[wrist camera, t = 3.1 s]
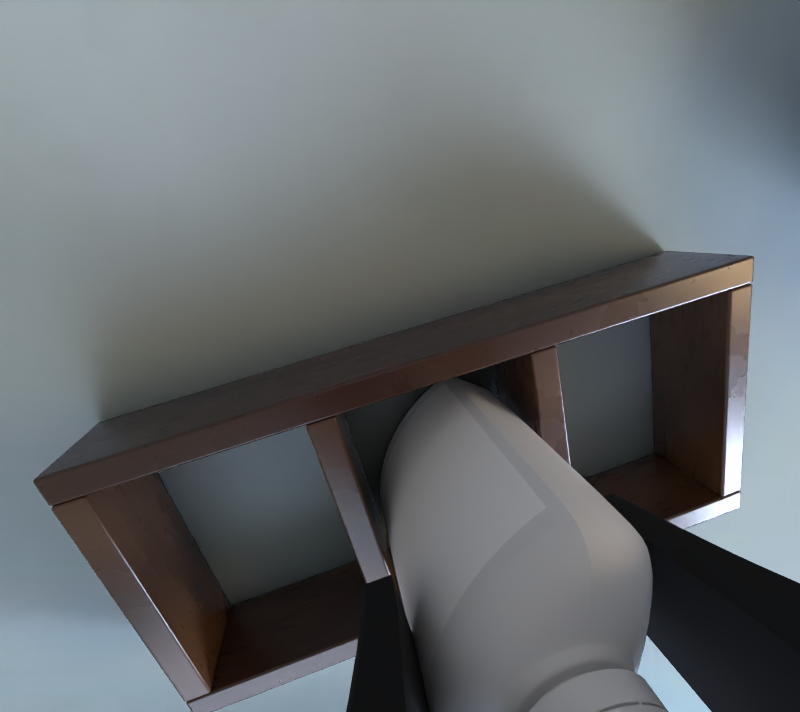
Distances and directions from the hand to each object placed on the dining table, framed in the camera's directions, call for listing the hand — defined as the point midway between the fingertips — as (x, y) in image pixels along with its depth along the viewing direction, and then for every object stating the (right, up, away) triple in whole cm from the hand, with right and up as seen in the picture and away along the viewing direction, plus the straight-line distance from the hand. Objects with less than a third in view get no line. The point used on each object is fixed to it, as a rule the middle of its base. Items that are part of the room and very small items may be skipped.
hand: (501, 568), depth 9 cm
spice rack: (-1, +2, +5) cm, 6 cm away
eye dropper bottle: (-1, +2, +5) cm, 6 cm away
